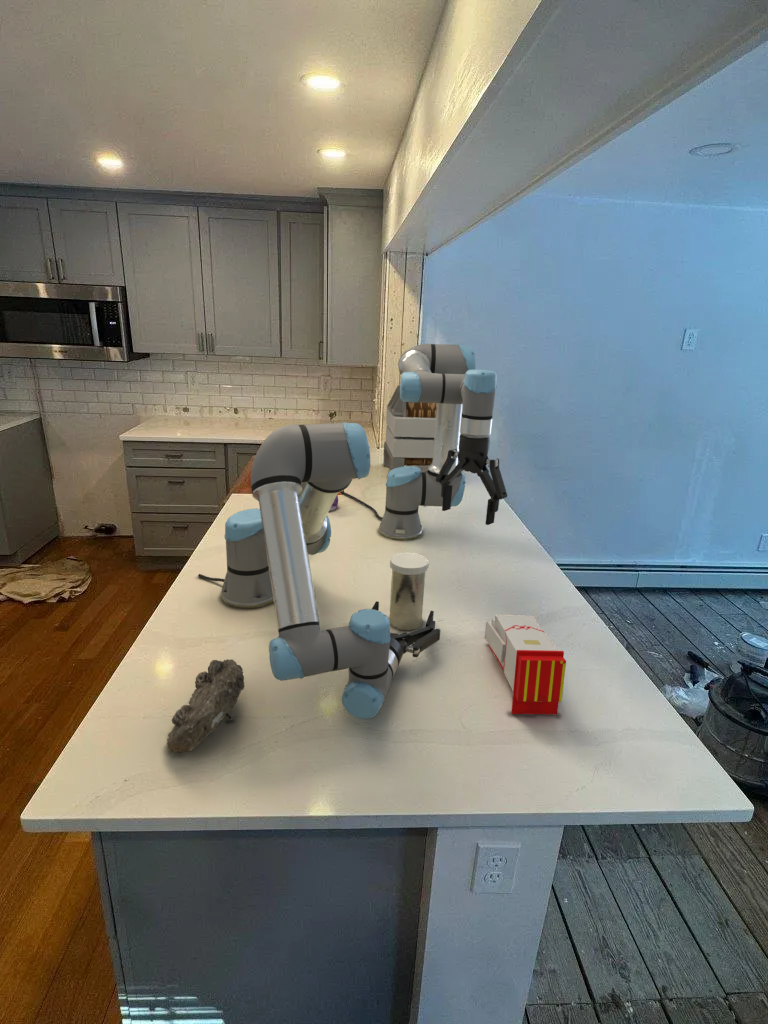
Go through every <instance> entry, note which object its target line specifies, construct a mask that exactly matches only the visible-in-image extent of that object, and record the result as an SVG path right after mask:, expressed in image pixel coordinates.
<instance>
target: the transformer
mask: <svg viewBox="0 0 768 1024" xmlns="http://www.w3.org/2000/svg"><path fill="white" fill-rule="evenodd" d="M436 410H437V403H412V402H404V401H402V400H401V399H400V384H398V385H397V386H396V388H395V390H394V392H393V394H392V395H391V398H390V400H389V402H388V404H387V405H386V413H385V414H386V415H385V423H386V428H385V438H384V442H383V466H384V467H388V468H389V472H390V471H391V470H392V469H395V468H398V467H404V466H413V467H428V466H429V465H430V464H432V462H433V449H434V436H435V423H436ZM461 434H462V433H461V432H460V435H461ZM459 451H460V449H459ZM459 462H460V461H459V459H458V463H459Z"/></svg>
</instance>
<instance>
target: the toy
mask: <svg viewBox="0 0 768 1024" xmlns="http://www.w3.org/2000/svg"><path fill="white" fill-rule="evenodd" d="M494 615H495V616H494V617H491V622H490V620H485V621H486V622H485V630H484V640H485V641H486V642H487V646H488V647H489V649H490V651H491V652H492V654H493V656H494V657H495V659H496V661H497V663H498V665H499V667H500V668H501V670H502V671H503V674H504V676H505V678H506V680H507V682H508V684H509V686H510V689H511V690H512V701H511V712H510V713H511V714H512V715H556V716H558V715H559V714H558V713H559V705H560V703H562V702H563V695H564V694H563V693H564V686H565V685H564V683H565V677H566V676H565V675H566V667H567V666H566V665H567V660H566V658H564V656H565V651H564V650H559V649H558V648H557V646H556V645H555V644H554V642H553V641H552V640H551V638H550V637H549V636H548V634H547V633H546V631H544V629H543V628H542V626H541V625H540V623H539V622H538V620H536V618H535V617H534V615H531V614H530V615H527V614H526V615H523V614H519V615H518V614H494Z"/></svg>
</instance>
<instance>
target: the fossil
mask: <svg viewBox="0 0 768 1024" xmlns="http://www.w3.org/2000/svg"><path fill="white" fill-rule="evenodd" d="M243 670H244V669H243V667H242V665H240V664H237V662H236V661H235V660H234V659H232V658H231V659H227V658H226V659H224V660H223V661H222V660H217V659H212V660H211V661H210V663H209V665H208V666H207V671H201V672H199V673H198V674H197V675H196V676H195V680H194V684H195V685H194V687H195V689H194V690H193V693H192V694H191V697H190V698H189V700H188V704H184V705H182V706H181V707H180V709H177V710H176V711H175V713H174V715H173V716H172V718H171V723H172V724H173V727H172V730H171V731H170V732H168V734H167V738H166V741H167V742H166V745H167V749H168V750H169V751H173V752H174V753H176V754H178V753H182V752H188V751H189V752H192V751H193V750H195V748H196V747H197V746H199V744H200V743H201V742H203V741H204V740H205V739H206V738H207V737H208V736H209V735H210V734H211V733H212V732H214V730H215V729H217V727H218V726H219V724H220V722H221V721H222V720H223V719H224V718H225V716H226V717H227V719H229V720H233V717H232V715H230V714H229V710H230V709H231V708H234V706H235V704H236V703H237V702H238V699H239V697H240V695H241V693H242V691H243V690H245V689H244V688H245V675H244V671H243Z"/></svg>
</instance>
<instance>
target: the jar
mask: <svg viewBox="0 0 768 1024" xmlns="http://www.w3.org/2000/svg"><path fill="white" fill-rule="evenodd" d="M390 581H391V582H390V600H389V617H388V619H389V622H390V626H392V628H395V629H396V630H400V631H415V630H418V629H419V628H420V627H421V626H422V621H423V610H424V609H423V608H424V597H425V596H424V595H425V583H426V571H425V572H424V573H421V574H417V575H406V574H401V573H398V572H395V571H394V570H392V569H391V580H390Z"/></svg>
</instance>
